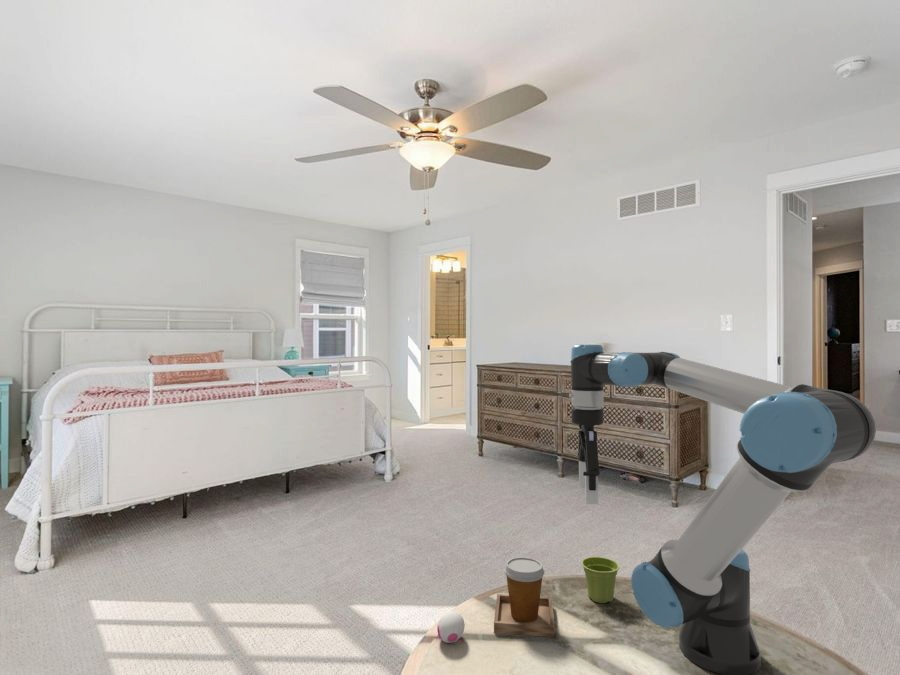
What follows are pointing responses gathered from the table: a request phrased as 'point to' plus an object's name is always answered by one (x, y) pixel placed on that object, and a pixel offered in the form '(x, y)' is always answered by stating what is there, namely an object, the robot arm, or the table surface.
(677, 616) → the robot arm
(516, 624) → the tray
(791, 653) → the table surface
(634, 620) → the table surface
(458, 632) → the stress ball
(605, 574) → the plant pot
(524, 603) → the disposable coffee cup
